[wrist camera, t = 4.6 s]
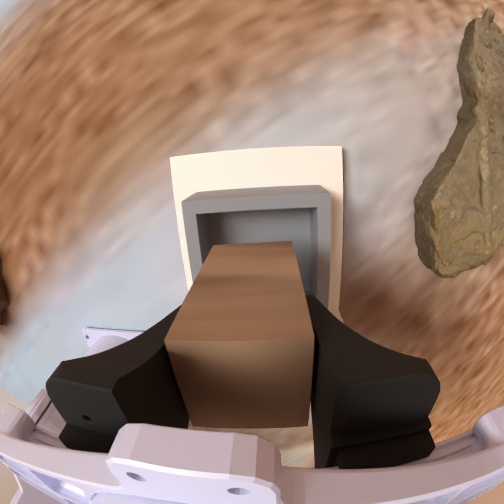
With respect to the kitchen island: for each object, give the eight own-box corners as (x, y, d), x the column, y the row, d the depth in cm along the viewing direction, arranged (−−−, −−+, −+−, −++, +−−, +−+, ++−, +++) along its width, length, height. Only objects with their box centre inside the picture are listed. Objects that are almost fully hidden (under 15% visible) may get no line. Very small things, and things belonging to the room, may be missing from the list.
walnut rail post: (293, 309, 16) (307, 426, 8) (222, 312, 16) (193, 425, 9) (292, 240, 15) (314, 337, 7) (213, 245, 15) (164, 340, 7)
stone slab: (483, 287, 22) (507, 307, 17) (387, 249, 23) (402, 266, 19) (526, 60, 14) (549, 49, 9) (439, 5, 15) (454, -18, 11)
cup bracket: (335, 317, 24) (348, 354, 19) (197, 322, 25) (183, 359, 20) (339, 146, 19) (360, 146, 14) (173, 156, 20) (146, 160, 15)
